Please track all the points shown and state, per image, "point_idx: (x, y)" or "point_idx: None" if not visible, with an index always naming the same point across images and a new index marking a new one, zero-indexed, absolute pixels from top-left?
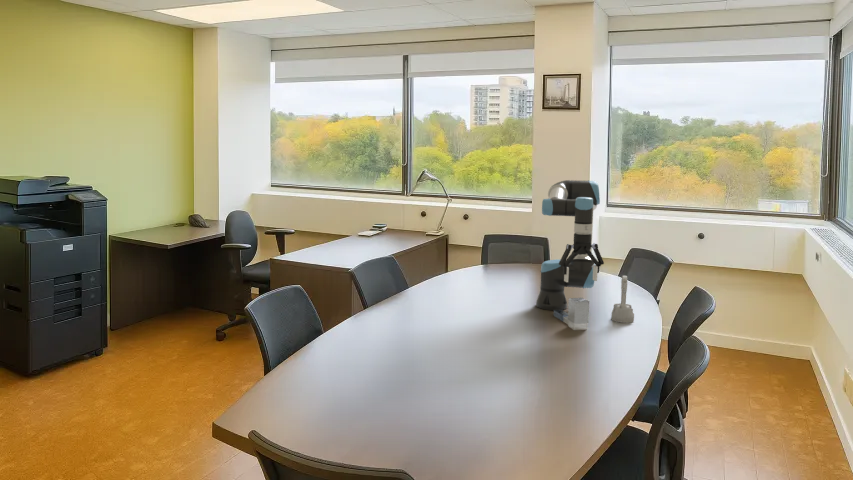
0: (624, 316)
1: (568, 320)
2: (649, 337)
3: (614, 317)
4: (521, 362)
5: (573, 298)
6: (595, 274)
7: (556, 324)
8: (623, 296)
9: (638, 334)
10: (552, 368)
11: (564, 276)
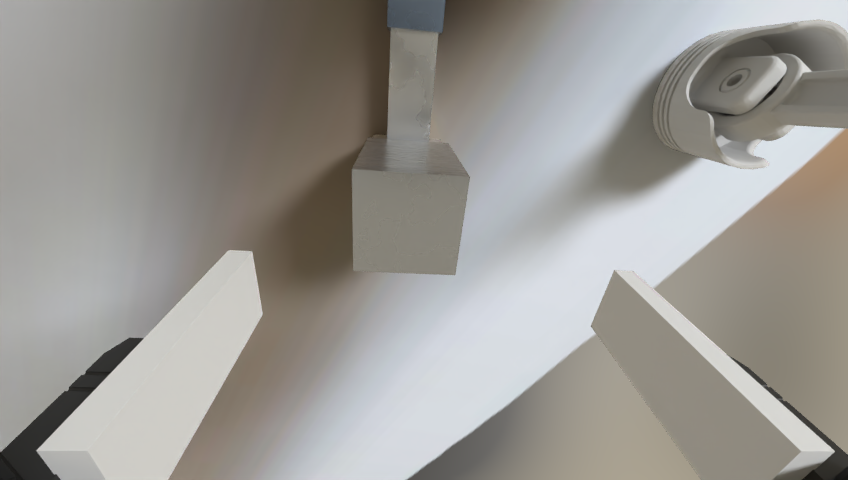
0: (691, 153)
1: (388, 106)
2: (583, 330)
3: (665, 107)
4: None
5: (387, 183)
6: (637, 379)
7: (328, 81)
8: (844, 120)
9: (577, 298)
10: None
11: (196, 294)
